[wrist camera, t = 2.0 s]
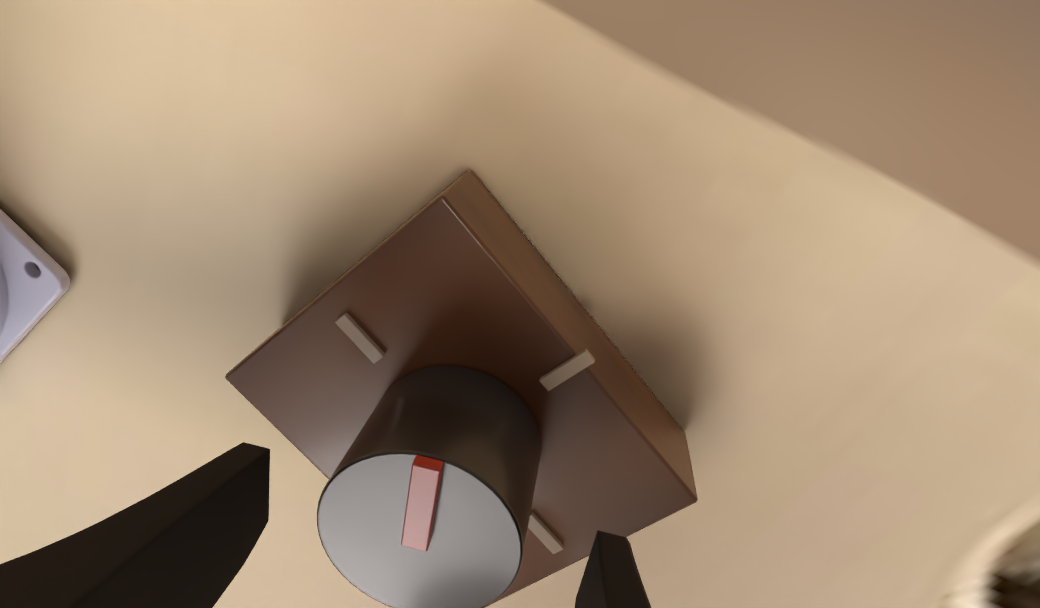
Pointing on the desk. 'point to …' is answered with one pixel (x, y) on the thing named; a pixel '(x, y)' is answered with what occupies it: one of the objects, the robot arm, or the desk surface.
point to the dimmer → (491, 350)
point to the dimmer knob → (435, 492)
